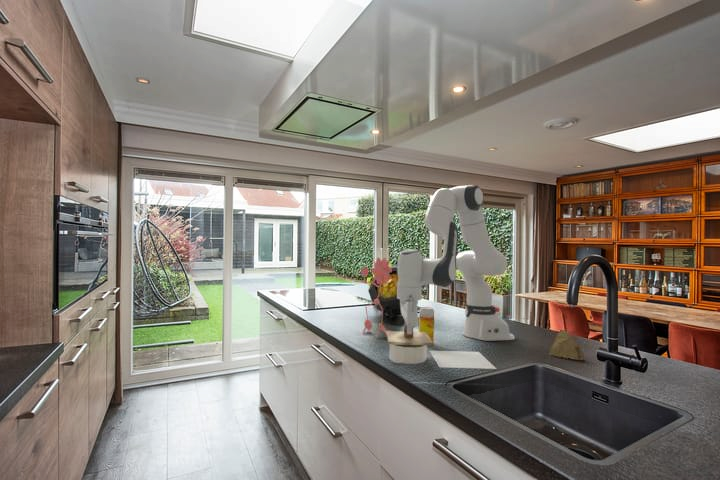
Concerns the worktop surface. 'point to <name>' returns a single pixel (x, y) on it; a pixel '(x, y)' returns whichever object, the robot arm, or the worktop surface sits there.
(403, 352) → the bowl
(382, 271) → the figurine
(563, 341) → the rock
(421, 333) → the lid
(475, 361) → the mat
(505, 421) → the worktop surface
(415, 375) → the worktop surface
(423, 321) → the beer can
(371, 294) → the cauldron
